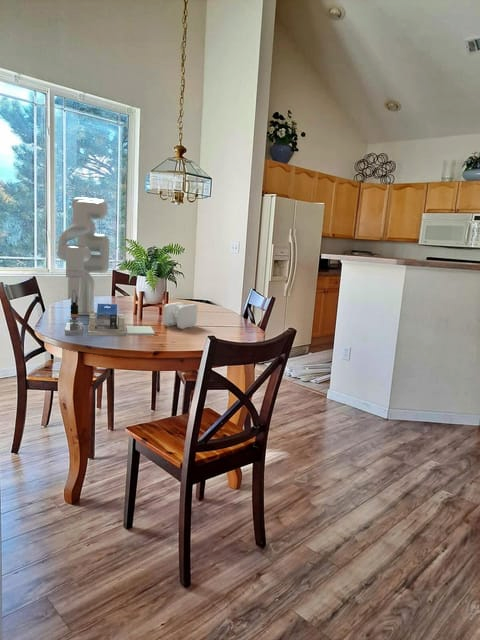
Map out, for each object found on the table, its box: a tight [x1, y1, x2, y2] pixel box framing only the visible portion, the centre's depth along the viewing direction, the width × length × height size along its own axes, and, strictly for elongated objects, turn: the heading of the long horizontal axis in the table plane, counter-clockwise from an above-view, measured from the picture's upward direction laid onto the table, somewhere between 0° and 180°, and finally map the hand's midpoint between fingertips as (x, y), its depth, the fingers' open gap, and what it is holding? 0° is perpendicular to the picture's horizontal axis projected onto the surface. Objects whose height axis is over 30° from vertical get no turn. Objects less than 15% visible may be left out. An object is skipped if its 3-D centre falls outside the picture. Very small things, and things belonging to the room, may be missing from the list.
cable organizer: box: [162, 301, 198, 330], centre depth 227 cm, size 15×11×12 cm
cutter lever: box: [69, 313, 80, 324], centre depth 203 cm, size 15×3×4 cm, turn 18°
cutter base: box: [64, 322, 84, 336], centre depth 202 cm, size 15×7×4 cm, turn 18°
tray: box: [125, 325, 156, 336], centre depth 211 cm, size 14×12×1 cm
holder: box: [87, 314, 127, 336], centre depth 206 cm, size 16×16×7 cm
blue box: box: [96, 303, 118, 329], centre depth 206 cm, size 9×4×12 cm, turn 105°
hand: (74, 313), depth 206 cm, fingers closed
